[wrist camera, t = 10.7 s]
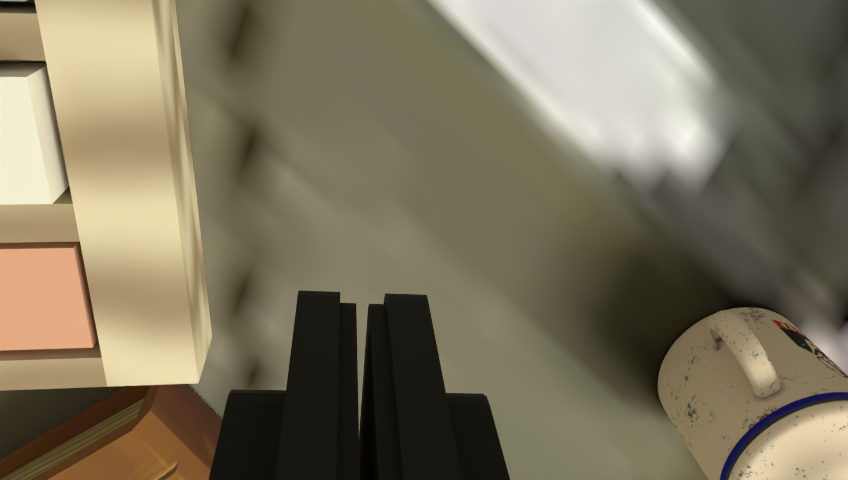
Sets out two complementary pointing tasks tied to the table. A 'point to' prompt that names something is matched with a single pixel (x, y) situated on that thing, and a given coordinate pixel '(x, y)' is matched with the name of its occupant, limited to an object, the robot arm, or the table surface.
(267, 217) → the table surface
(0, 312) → the key terracotta
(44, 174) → the key offwhite
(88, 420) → the diary
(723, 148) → the table surface
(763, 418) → the teacup with lid
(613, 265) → the table surface
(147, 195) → the beige flat block
